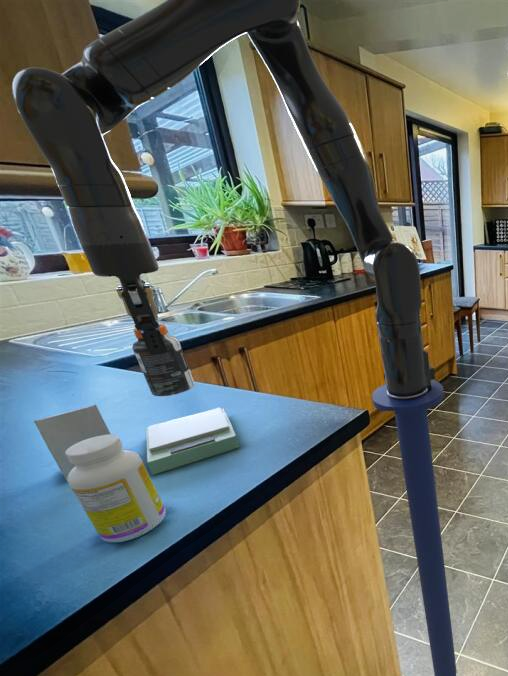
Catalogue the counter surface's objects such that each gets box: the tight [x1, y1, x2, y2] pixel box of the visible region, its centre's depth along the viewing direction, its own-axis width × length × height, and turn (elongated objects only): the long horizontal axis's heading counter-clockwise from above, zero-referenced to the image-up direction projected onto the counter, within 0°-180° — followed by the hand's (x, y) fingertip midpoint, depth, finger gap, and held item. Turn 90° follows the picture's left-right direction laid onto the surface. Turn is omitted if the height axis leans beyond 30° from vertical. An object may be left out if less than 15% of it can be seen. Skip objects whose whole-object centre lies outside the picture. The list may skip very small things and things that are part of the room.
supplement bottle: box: [65, 434, 167, 543], centre depth 50 cm, size 7×7×13 cm
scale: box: [145, 406, 241, 476], centre depth 71 cm, size 12×14×3 cm
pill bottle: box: [132, 323, 196, 398], centre depth 66 cm, size 6×6×11 cm
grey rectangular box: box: [33, 404, 112, 482], centre depth 64 cm, size 4×7×10 cm, turn 141°
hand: (158, 348), depth 66 cm, fingers closed on pill bottle, 6 cm apart
